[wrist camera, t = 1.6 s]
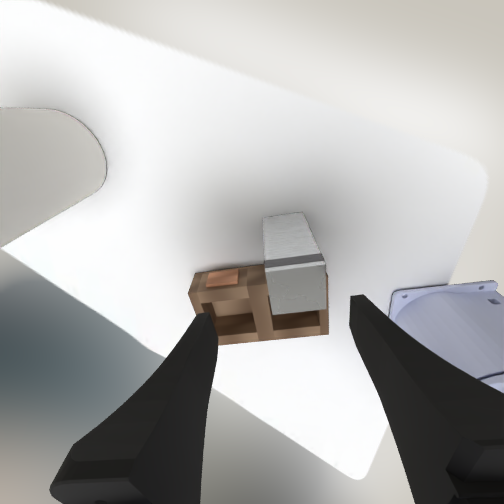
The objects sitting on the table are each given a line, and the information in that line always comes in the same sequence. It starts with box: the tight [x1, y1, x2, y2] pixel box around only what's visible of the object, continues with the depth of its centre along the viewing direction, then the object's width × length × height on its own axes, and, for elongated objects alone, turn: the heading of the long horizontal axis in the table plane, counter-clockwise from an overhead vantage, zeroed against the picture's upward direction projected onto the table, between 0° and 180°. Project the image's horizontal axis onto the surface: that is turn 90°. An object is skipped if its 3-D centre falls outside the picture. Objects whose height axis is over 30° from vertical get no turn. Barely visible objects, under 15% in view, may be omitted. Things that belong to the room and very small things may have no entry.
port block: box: [188, 264, 329, 345], centre depth 24 cm, size 12×7×3 cm, turn 99°
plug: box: [262, 212, 326, 315], centre depth 18 cm, size 3×3×8 cm
